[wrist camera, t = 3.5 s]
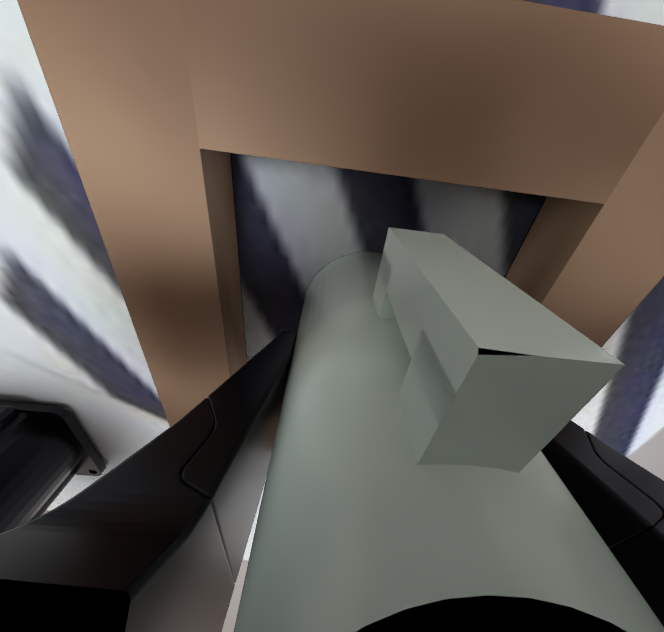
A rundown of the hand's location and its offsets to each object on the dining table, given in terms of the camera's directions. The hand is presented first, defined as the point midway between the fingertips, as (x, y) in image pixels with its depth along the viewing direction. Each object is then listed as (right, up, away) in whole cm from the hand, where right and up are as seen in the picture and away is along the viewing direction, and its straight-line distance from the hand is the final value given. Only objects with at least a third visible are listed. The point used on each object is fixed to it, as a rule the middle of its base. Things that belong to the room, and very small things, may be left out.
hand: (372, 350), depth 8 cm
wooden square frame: (0, +1, +2) cm, 2 cm away
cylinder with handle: (0, +1, +2) cm, 2 cm away
